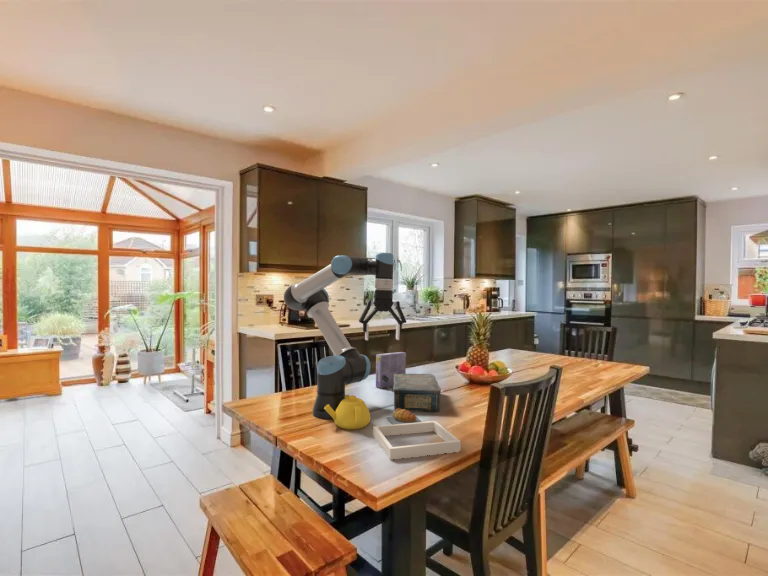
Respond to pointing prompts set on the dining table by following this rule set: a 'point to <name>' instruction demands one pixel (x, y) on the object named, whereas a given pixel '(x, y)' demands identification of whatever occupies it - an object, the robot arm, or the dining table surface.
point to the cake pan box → (389, 368)
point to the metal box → (416, 392)
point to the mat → (395, 421)
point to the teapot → (350, 413)
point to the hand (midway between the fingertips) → (382, 339)
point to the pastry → (404, 415)
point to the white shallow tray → (420, 449)
